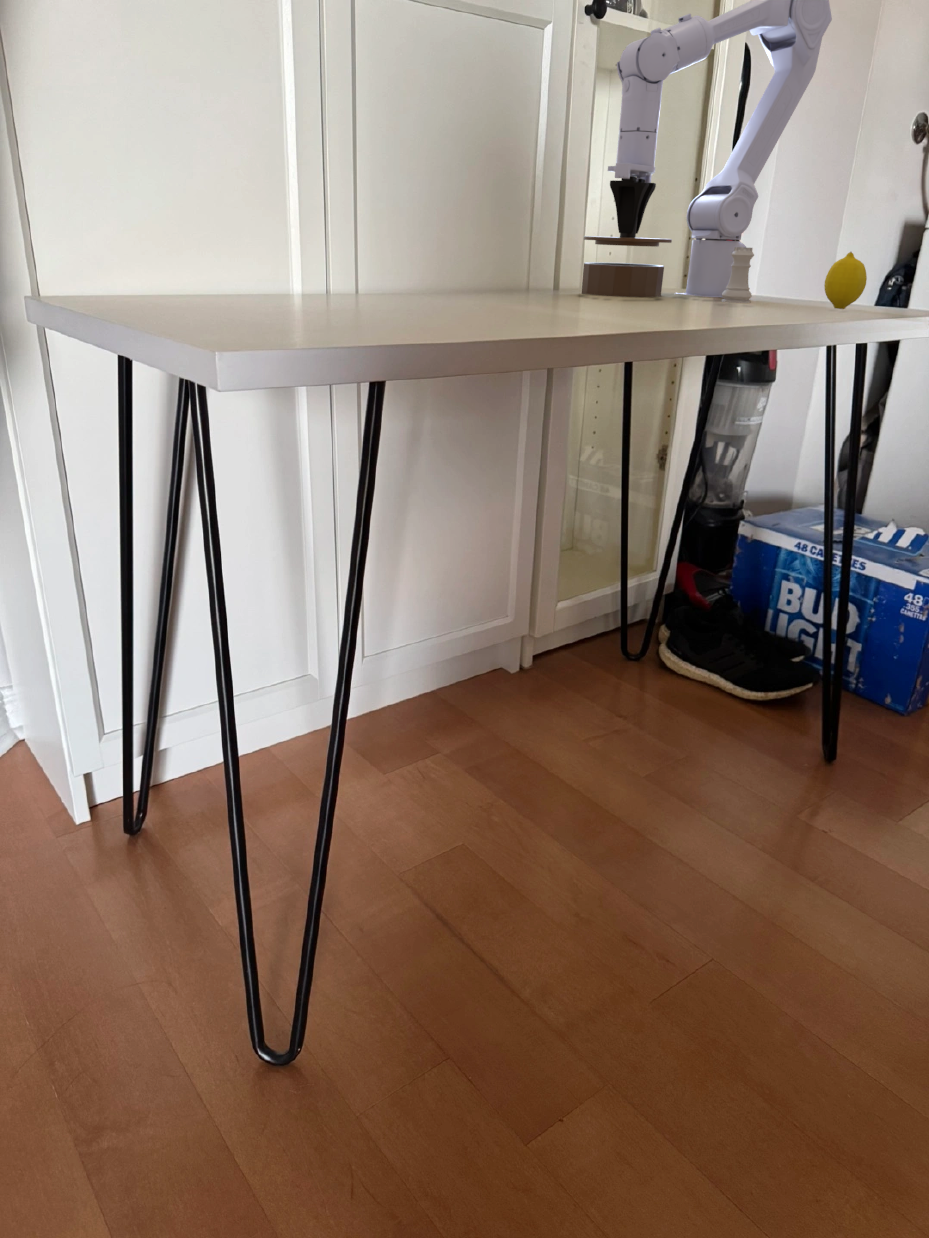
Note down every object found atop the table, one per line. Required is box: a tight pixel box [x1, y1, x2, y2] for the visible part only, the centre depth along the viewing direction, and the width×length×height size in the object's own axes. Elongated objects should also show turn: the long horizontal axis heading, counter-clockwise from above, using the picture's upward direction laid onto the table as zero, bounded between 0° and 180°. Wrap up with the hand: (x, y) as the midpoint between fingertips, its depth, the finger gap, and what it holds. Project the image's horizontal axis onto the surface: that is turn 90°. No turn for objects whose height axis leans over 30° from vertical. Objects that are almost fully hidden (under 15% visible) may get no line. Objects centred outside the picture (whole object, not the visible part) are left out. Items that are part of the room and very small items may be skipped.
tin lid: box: [583, 221, 673, 248], centre depth 136 cm, size 14×14×6 cm
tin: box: [581, 261, 665, 298], centre depth 139 cm, size 12×12×5 cm
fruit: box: [823, 251, 868, 310], centre depth 127 cm, size 6×6×8 cm
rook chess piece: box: [720, 246, 755, 304], centre depth 130 cm, size 4×4×8 cm
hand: (628, 233), depth 136 cm, fingers closed on tin lid, 2 cm apart
